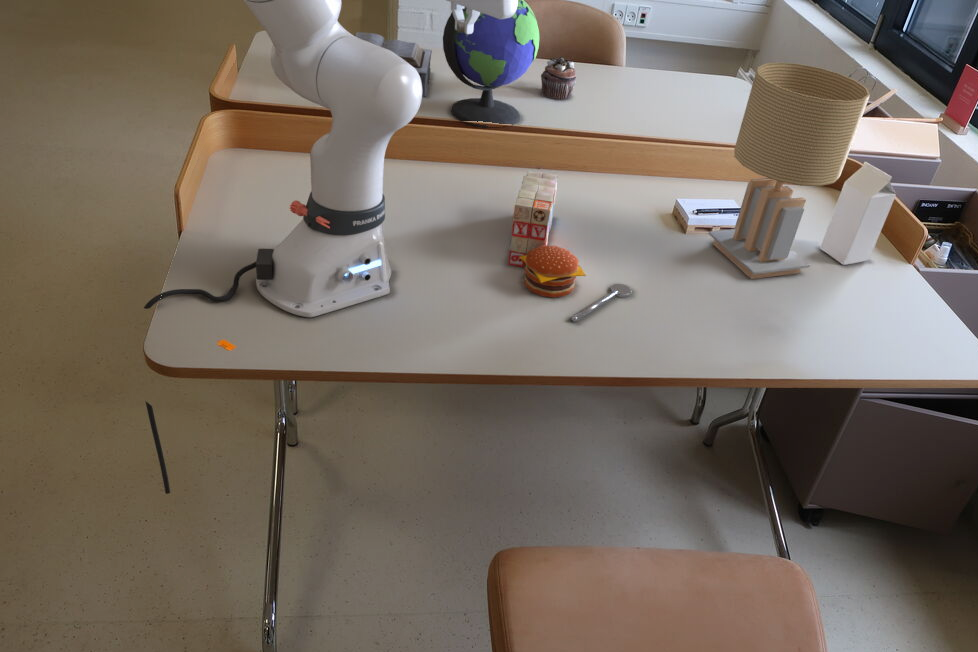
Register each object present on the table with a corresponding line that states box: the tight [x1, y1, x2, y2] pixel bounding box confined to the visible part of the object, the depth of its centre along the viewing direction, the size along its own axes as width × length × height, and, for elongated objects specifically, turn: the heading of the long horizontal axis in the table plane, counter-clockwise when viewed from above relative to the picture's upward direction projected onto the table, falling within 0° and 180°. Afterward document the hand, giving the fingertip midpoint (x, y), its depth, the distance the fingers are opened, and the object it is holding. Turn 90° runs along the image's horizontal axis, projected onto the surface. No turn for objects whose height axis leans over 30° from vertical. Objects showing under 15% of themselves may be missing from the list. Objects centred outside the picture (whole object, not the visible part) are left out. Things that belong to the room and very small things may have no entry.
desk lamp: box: [708, 61, 871, 280], centre depth 153 cm, size 20×20×35 cm
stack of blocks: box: [507, 170, 559, 268], centre depth 154 cm, size 21×6×12 cm, turn 174°
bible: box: [353, 31, 433, 98], centre depth 215 cm, size 23×27×10 cm
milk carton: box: [819, 161, 897, 266], centre depth 164 cm, size 7×7×19 cm
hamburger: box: [519, 244, 587, 298], centre depth 143 cm, size 9×10×7 cm
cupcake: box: [540, 56, 577, 101], centre depth 223 cm, size 10×10×10 cm
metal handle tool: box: [571, 283, 632, 323], centre depth 142 cm, size 16×4×1 cm, turn 142°
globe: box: [442, 0, 540, 129], centre depth 198 cm, size 22×22×30 cm
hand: (463, 31), depth 147 cm, fingers closed
